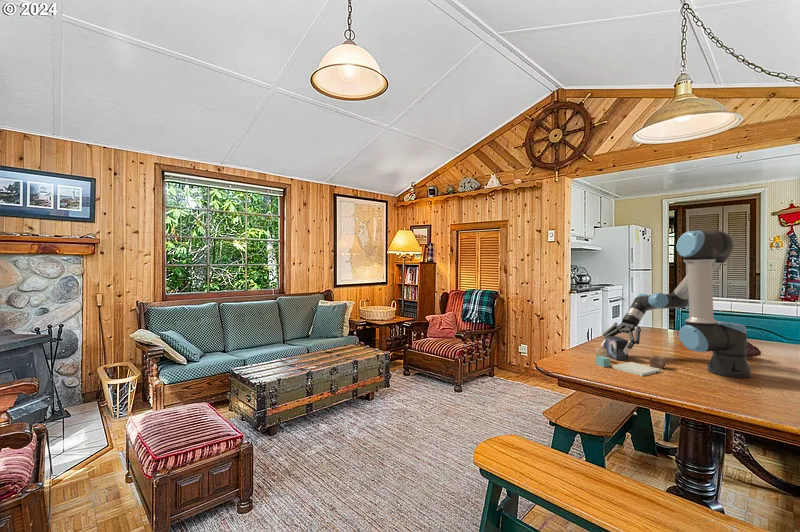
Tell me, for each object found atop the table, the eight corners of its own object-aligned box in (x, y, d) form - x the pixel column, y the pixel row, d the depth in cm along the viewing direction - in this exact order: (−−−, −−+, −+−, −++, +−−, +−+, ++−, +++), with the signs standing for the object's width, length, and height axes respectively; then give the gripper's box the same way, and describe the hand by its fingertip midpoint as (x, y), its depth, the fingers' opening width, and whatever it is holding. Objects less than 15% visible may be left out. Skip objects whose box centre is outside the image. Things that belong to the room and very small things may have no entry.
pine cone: (768, 362, 190) (768, 342, 189) (750, 363, 188) (751, 343, 188) (732, 353, 207) (732, 335, 207) (716, 354, 206) (716, 336, 205)
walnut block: (665, 367, 183) (665, 357, 183) (661, 369, 180) (662, 359, 180) (653, 365, 187) (653, 355, 187) (649, 367, 184) (649, 357, 183)
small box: (604, 355, 206) (604, 336, 206) (616, 355, 206) (616, 335, 206) (615, 360, 195) (616, 340, 195) (628, 360, 196) (628, 340, 195)
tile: (660, 371, 176) (660, 369, 176) (641, 376, 170) (641, 373, 170) (631, 364, 189) (631, 361, 189) (612, 368, 183) (612, 365, 183)
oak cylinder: (609, 361, 194) (609, 349, 194) (602, 362, 192) (602, 350, 192) (600, 359, 199) (600, 347, 199) (593, 360, 197) (593, 348, 197)
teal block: (610, 366, 185) (610, 358, 185) (603, 367, 184) (603, 359, 184) (602, 364, 190) (602, 356, 190) (595, 364, 189) (595, 356, 189)
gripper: (658, 326, 196) (639, 359, 190) (614, 319, 218) (596, 349, 212) (652, 317, 194) (632, 350, 188) (608, 311, 216) (589, 340, 209)
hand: (613, 350), depth 200 cm, fingers closed on small box, 12 cm apart
